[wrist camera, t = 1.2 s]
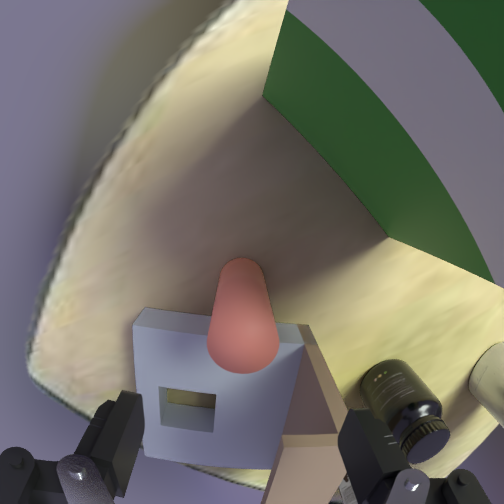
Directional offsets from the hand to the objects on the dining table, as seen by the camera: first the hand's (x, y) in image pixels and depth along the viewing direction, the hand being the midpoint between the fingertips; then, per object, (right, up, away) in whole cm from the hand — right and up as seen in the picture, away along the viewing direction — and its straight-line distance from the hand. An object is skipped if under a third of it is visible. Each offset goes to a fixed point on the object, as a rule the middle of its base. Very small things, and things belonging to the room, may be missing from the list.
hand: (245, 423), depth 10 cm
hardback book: (+10, +17, +16) cm, 25 cm away
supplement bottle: (+16, -9, +22) cm, 28 cm away
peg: (-1, +4, +18) cm, 18 cm away
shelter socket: (-3, -9, +21) cm, 23 cm away
